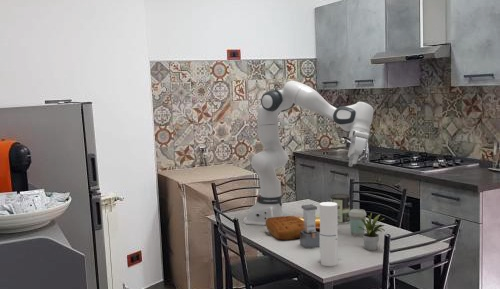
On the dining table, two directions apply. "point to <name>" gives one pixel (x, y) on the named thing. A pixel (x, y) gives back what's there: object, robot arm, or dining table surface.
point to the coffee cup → (357, 222)
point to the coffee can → (342, 207)
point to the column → (309, 218)
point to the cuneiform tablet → (285, 227)
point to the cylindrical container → (328, 234)
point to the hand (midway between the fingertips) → (352, 165)
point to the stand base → (309, 240)
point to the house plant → (371, 233)
